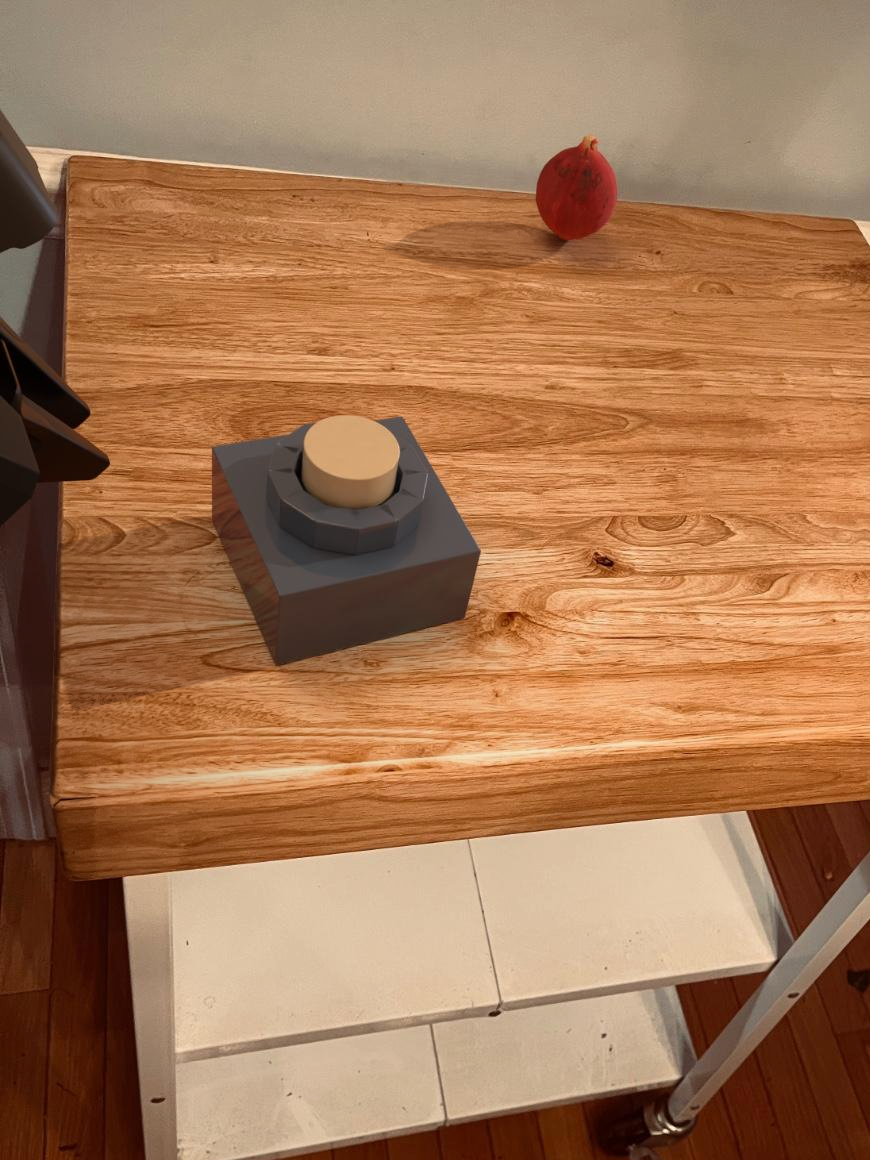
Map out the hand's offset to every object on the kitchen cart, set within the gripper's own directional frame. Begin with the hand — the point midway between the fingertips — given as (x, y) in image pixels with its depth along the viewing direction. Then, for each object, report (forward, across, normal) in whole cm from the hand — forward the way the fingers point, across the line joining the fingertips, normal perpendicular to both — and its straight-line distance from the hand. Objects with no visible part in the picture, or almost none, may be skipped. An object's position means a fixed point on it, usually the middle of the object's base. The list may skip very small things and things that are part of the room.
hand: (92, 443), depth 46 cm
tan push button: (+12, +2, -4) cm, 13 cm away
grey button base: (+17, +2, +1) cm, 17 cm away
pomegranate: (+36, +27, -18) cm, 49 cm away
